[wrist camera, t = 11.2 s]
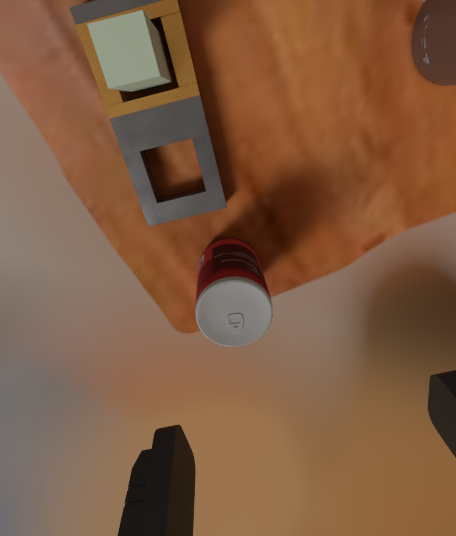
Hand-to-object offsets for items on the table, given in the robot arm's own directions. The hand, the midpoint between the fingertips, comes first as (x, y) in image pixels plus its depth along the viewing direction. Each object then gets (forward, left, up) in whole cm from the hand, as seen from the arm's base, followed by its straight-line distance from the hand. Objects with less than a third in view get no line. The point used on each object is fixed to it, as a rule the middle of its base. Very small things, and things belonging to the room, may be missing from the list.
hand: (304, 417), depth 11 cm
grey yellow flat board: (+6, -9, -30) cm, 32 cm away
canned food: (+3, +9, -30) cm, 32 cm away
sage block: (+6, -14, -30) cm, 34 cm away
